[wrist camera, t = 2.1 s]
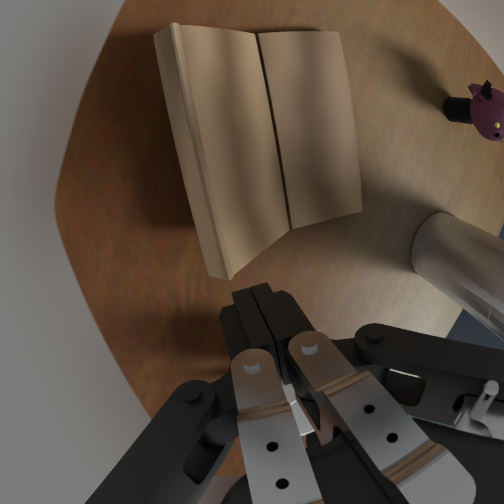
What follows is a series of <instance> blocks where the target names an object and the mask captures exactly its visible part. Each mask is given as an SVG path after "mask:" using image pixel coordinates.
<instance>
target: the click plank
mask: <svg viewBox="0 0 504 504" xmlns="http://www.w3.org/2000/svg"><path fill="white" fill-rule="evenodd" d="M153 38H154V44H155V49H156V55H157V60H158V65H159V70H160V76H161V81H162V86H163V91H164V96H165V100H166V105H167V110H168V115H169V119H170V124H171V128H172V133H173V137H174V142H175V146H176V151H177V155H178V159H179V163H180V168H181V172H182V176H183V180H184V184H185V188H186V192H187V196H188V200H189V204H190V208H191V212H192V216H193V220H194V223H195V227H196V231H197V235H198V238H199V242H200V246H201V249H202V253H203V257H204V260H205V264H206V267H207V271H208V275H209V276H211V277H215V278H219V279H223V280H227V281H230V280H231V279H232V278H234V277H233V275H234V274H235V273H236V272H238V271H239V270H240V269H242V268H243V267H244V266H245V265H247V264H248V263H249V262H250V261H252V260H253V259H254V258H255V257H257V256H258V255H259V254H260V253H262V252H263V251H264V250H265V249H267V248H268V247H269V246H270V245H272V244H273V243H274V242H275V241H277V240H278V239H279V238H280V237H282V236H283V235H284V234H285V233H287V232H288V231H289V224H288V217H287V210H286V203H285V197H284V190H283V184H282V178H281V171H280V165H279V159H278V153H277V147H276V142H275V136H274V130H273V124H272V119H271V113H270V108H269V103H268V97H267V92H266V87H265V82H264V77H263V71H262V66H261V62H260V57H259V52H258V47H257V42H256V38H255V34H253V33H247V32H241V31H235V30H228V29H220V28H212V27H202V26H190V25H179V23H171V24H170V25H168V26H166V27H165V28H163V29H161V30H160V31H158V32H157V33H155V34H153Z"/></svg>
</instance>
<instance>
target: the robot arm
mask: <svg viewBox="0 0 504 504" xmlns="http://www.w3.org/2000/svg"><path fill="white" fill-rule="evenodd" d="M411 263H412V267H413V269H414V271H415V272H416V273H417V274H419V275H420V276H422V277H423V278H424V279H426V280H427V281H428V282H430V283H431V284H432V285H434V286H435V287H436V288H438V289H439V290H440V291H442V292H443V293H444V294H446V295H447V296H448V297H450V298H451V299H452V300H454V301H455V302H456V303H457V304H459V305H460V306H461V307H463V308H464V309H465V310H467V311H468V312H469V313H470V314H472V315H473V316H474V317H475V318H477V319H478V320H479V321H480V322H482V323H483V324H484V325H485V326H486V327H488V328H489V329H490V330H492V331H493V332H494V333H495V334H496V335H497V336H499V337H500V338H501V339H502V340H503V341H504V240H502V239H500V238H498V237H496V236H494V235H492V234H490V233H488V232H486V231H484V230H482V229H480V228H478V227H476V226H474V225H472V224H470V223H468V222H465V221H463V220H461V219H459V218H457V217H453V216H451V215H449V214H446V213H444V212H439V213H435V214H433V215H431V216H430V217H429V218H428V219H426V220H425V221H424V223H423V224H422V225H421V226H420V228H419V230H418V232H417V233H416V236H415V238H414V241H413V244H412V249H411ZM231 294H232V298H233V302H234V304H233V305H230V306H226V307H222V310H221V313H220V315H219V317H220V321H221V325H222V329H223V332H224V336H225V340H226V343H227V347H228V351H229V354H230V358H231V365H230V368H229V370H228V371H227V373H226V374H225V375H224V376H222V377H221V378H220V379H218V380H216V381H214V382H213V383H211V384H209V383H208V382H206V381H202V380H191V381H188V382H185V383H183V384H181V385H180V386H179V387H177V388H176V389H175V391H174V392H173V393H172V395H171V396H170V397H169V398H168V400H167V401H166V402H165V404H164V405H163V406H162V407H161V409H160V410H159V411H158V413H157V414H156V415H155V416H154V418H153V419H152V420H151V422H150V423H149V424H148V426H147V427H146V428H145V429H144V431H143V432H142V433H141V434H140V436H139V437H138V438H137V439H136V441H135V442H134V443H133V444H132V446H131V447H130V448H129V450H128V451H127V452H126V453H125V455H124V456H123V457H122V458H121V460H120V461H119V462H118V463H117V465H116V466H115V467H114V468H113V469H112V471H111V472H110V473H109V474H108V476H107V477H106V478H105V479H104V481H103V482H102V483H101V484H100V486H99V487H98V488H97V489H96V490H95V492H94V493H93V494H92V495H91V497H90V498H89V499H88V500H87V501H86V503H85V504H197V503H198V501H199V500H200V498H201V497H202V495H203V494H204V492H205V490H206V489H207V487H208V486H209V484H210V482H211V481H212V479H213V477H214V476H215V474H216V473H217V471H218V469H219V468H220V466H221V464H222V463H223V461H224V459H225V458H226V456H227V454H228V452H229V451H230V449H231V447H232V446H233V444H234V441H235V438H236V437H238V436H240V441H241V446H242V452H243V457H244V462H245V468H246V473H247V474H245V475H244V476H242V477H241V478H240V479H239V480H238V481H237V482H236V483H235V484H234V485H233V486H232V487H231V488H230V490H229V491H228V492H227V494H226V495H225V497H224V499H223V501H222V503H221V504H504V350H500V349H494V348H489V347H484V346H479V345H474V344H469V343H464V342H459V341H455V340H450V339H445V338H441V337H436V336H431V335H427V334H422V333H418V332H414V331H409V330H405V329H400V328H396V327H392V326H388V325H383V324H378V323H372V324H367V325H364V326H362V327H361V328H359V329H358V330H357V332H356V333H355V338H350V339H342V340H332V339H329V338H328V337H327V336H326V335H325V334H323V333H321V332H317V331H316V330H315V329H314V327H313V326H312V324H311V323H310V321H309V320H308V318H307V317H306V316H305V314H304V313H303V311H302V310H301V308H300V307H299V305H298V304H297V302H296V301H295V299H294V298H293V296H292V295H291V294H289V293H287V292H285V291H283V290H281V291H278V292H274V293H273V291H272V290H271V288H270V286H269V285H268V283H267V282H266V283H262V284H259V285H255V286H252V287H250V290H249V288H245V289H241V290H238V291H234V292H231ZM390 369H394V370H398V371H401V372H405V373H409V374H413V375H417V376H420V377H422V378H417V377H413V376H409V375H405V374H401V373H397V372H394V371H390ZM281 379H282V381H281ZM282 382H283V384H284V386H285V385H288V384H292V386H293V388H294V391H295V397H296V400H297V402H298V404H299V406H300V407H301V409H302V411H303V412H304V414H305V416H306V417H307V419H308V421H309V422H310V424H311V426H312V427H313V429H314V431H315V432H316V434H317V436H318V438H319V440H320V443H321V446H317V447H311V448H305V447H304V444H303V441H302V438H301V435H300V432H299V429H298V426H297V423H296V420H295V417H294V414H293V411H292V408H291V406H290V403H289V402H287V399H286V396H285V393H284V390H283V387H282ZM408 414H409V415H413V416H416V417H420V418H424V419H428V420H432V421H436V422H440V423H444V424H448V425H453V426H455V429H454V428H450V427H446V426H442V425H438V424H435V423H432V422H428V421H424V420H421V419H417V418H411V417H410V416H409V415H408Z"/></svg>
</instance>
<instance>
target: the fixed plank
mask: <svg viewBox="0 0 504 504" xmlns="http://www.w3.org/2000/svg"><path fill="white" fill-rule="evenodd" d="M255 38H256V42H257V47H258V52H259V57H260V62H261V66H262V71H263V77H264V82H265V87H266V92H267V97H268V103H269V108H270V113H271V119H272V124H273V130H274V136H275V142H276V147H277V153H278V159H279V165H280V171H281V178H282V184H283V190H284V197H285V203H286V210H287V217H288V224H289V227H290V228H291V229H296V228H300V227H304V226H308V225H312V224H316V223H319V222H323V221H327V220H331V219H335V218H339V217H343V216H347V215H351V214H355V213H358V212H362V211H363V207H362V190H361V177H360V165H359V155H358V145H357V136H356V128H355V120H354V113H353V106H352V99H351V93H350V87H349V81H348V75H347V70H346V65H345V60H344V55H343V50H342V45H341V40H340V36H339V32H329V31H293V32H271V33H258V34H257V35H256V36H255Z"/></svg>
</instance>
